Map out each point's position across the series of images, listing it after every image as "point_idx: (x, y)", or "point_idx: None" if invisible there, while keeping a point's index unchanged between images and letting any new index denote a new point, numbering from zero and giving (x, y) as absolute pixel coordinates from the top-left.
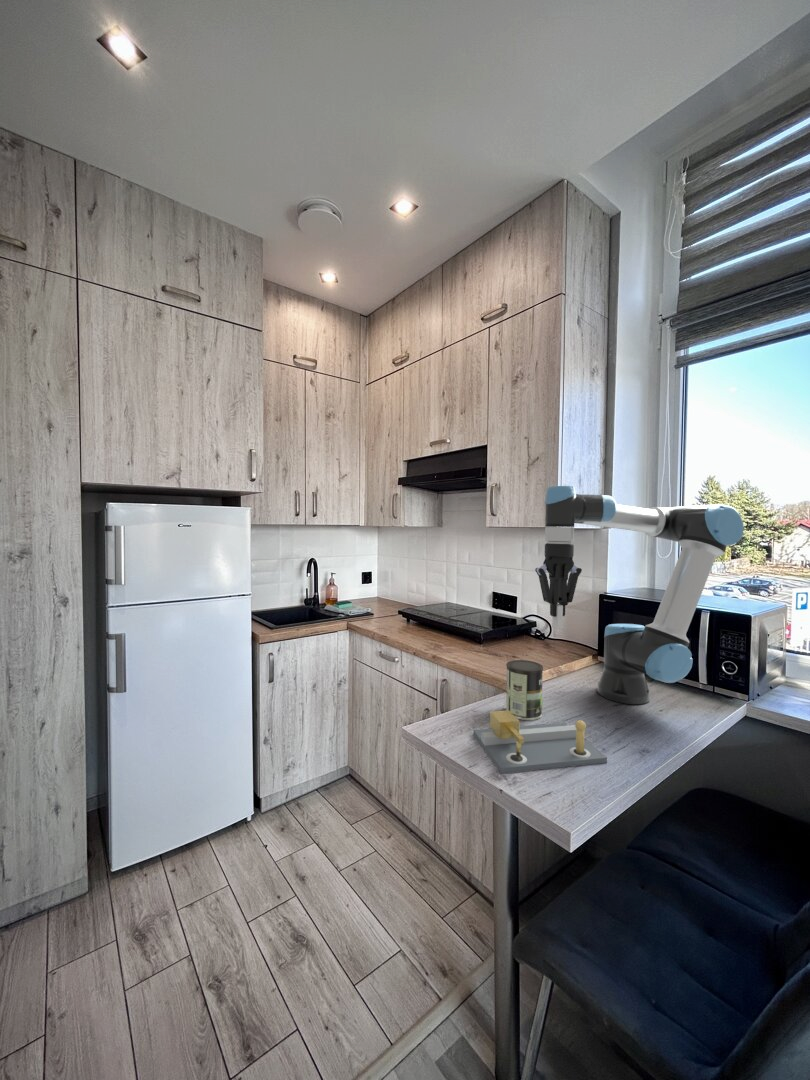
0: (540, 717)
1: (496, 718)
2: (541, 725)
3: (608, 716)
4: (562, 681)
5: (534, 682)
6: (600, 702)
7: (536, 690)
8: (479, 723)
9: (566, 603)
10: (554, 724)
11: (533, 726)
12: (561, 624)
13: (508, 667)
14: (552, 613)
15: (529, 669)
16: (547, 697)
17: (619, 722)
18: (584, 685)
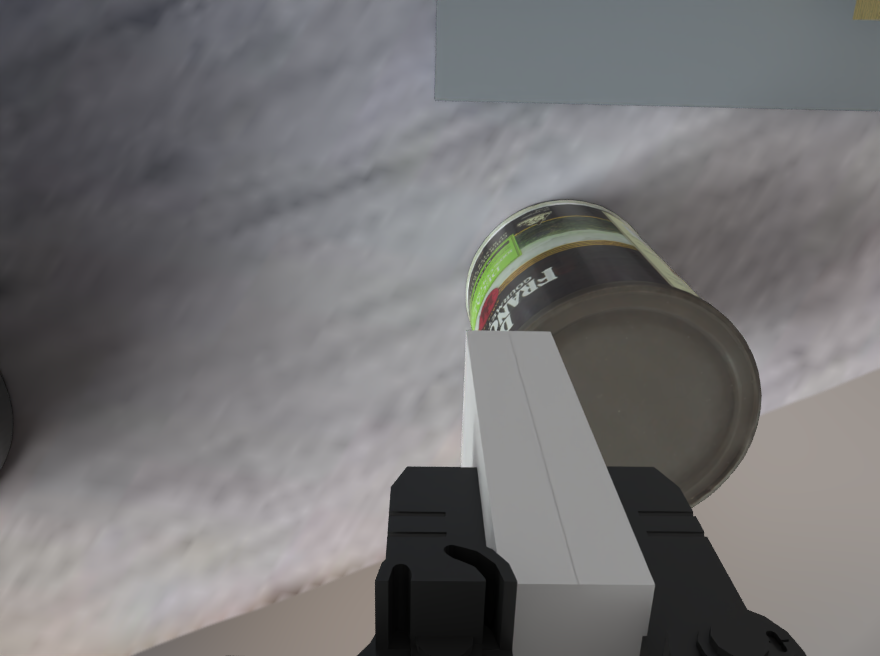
0: (506, 219)
1: None
2: (585, 88)
3: (111, 168)
4: (137, 606)
5: (600, 263)
6: (61, 337)
7: (570, 248)
8: (853, 220)
9: (426, 580)
10: (506, 86)
11: (636, 85)
12: (486, 361)
13: (757, 408)
14: (688, 506)
15: (636, 332)
16: (328, 440)
17: (88, 86)
18: (38, 545)
